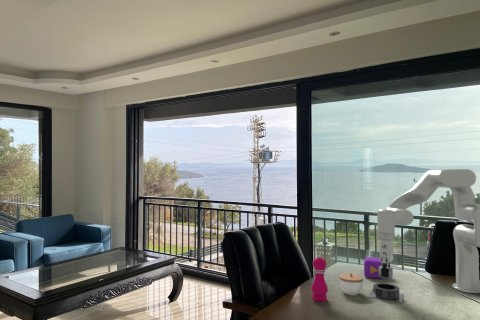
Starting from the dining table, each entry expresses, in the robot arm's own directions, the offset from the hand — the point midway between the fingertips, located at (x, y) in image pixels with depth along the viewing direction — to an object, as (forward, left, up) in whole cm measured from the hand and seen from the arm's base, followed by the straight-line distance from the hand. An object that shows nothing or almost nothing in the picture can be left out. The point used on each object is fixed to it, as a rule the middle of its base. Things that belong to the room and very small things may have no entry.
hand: (385, 274), depth 164 cm
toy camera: (+8, -30, -10) cm, 33 cm away
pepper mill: (+26, +19, -10) cm, 33 cm away
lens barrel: (0, 0, -10) cm, 10 cm away
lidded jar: (+15, +4, -10) cm, 18 cm away
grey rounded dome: (0, 0, -1) cm, 1 cm away
